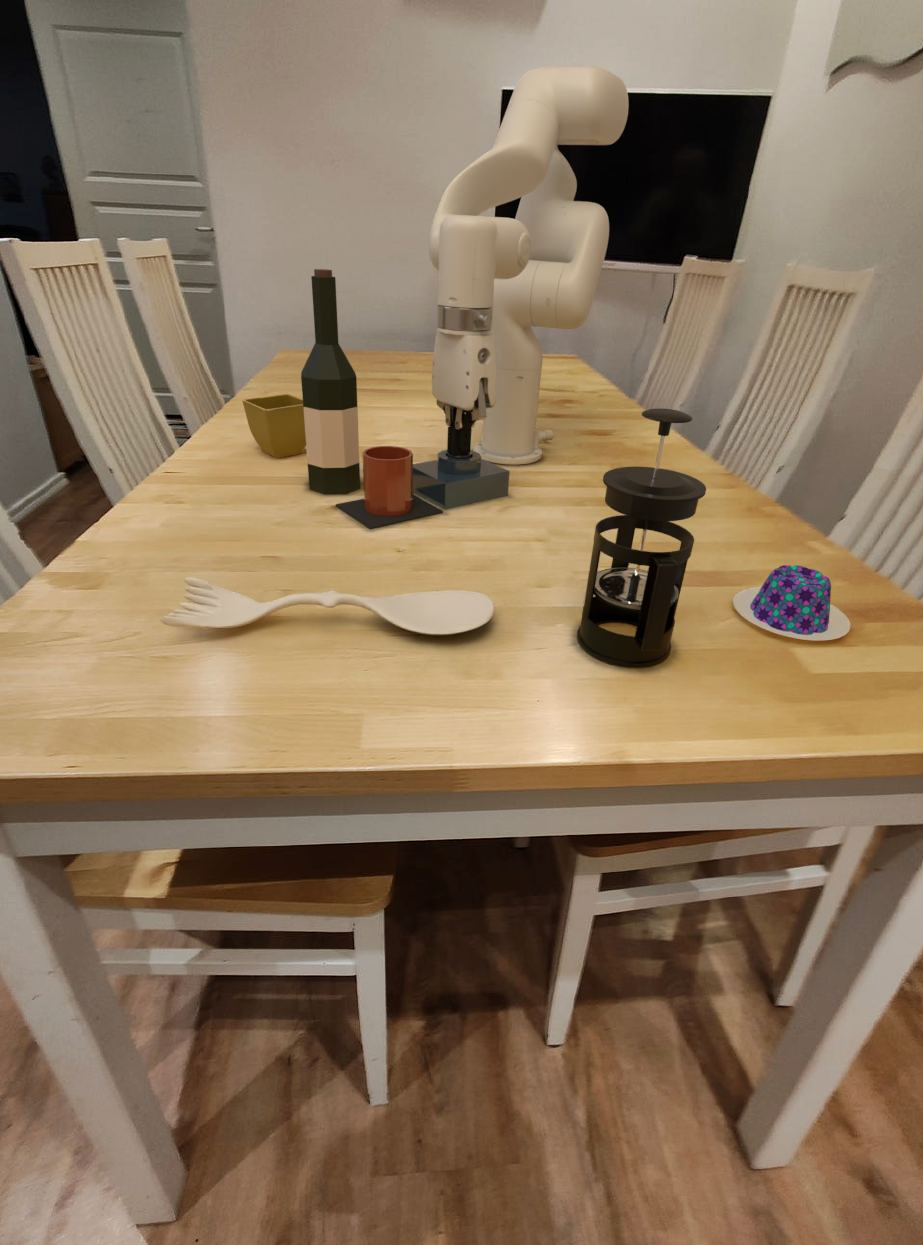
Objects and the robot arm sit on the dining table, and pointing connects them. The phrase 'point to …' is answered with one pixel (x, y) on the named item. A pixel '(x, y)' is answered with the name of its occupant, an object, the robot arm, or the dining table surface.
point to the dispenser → (459, 480)
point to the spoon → (404, 610)
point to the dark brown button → (459, 456)
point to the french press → (640, 559)
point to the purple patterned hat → (794, 605)
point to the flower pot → (277, 424)
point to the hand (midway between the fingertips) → (458, 453)
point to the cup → (388, 480)
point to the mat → (375, 521)
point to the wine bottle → (329, 400)
